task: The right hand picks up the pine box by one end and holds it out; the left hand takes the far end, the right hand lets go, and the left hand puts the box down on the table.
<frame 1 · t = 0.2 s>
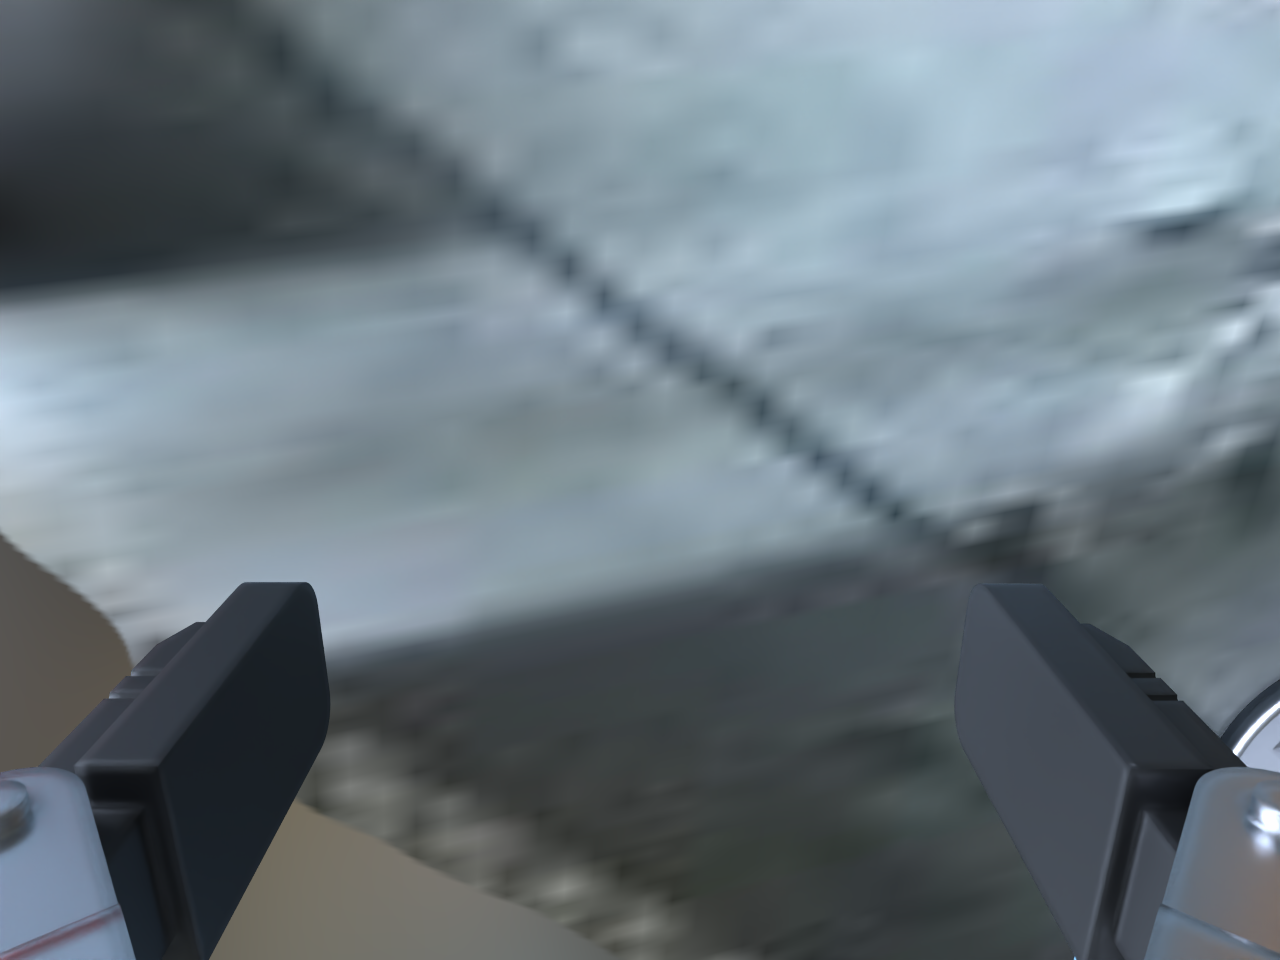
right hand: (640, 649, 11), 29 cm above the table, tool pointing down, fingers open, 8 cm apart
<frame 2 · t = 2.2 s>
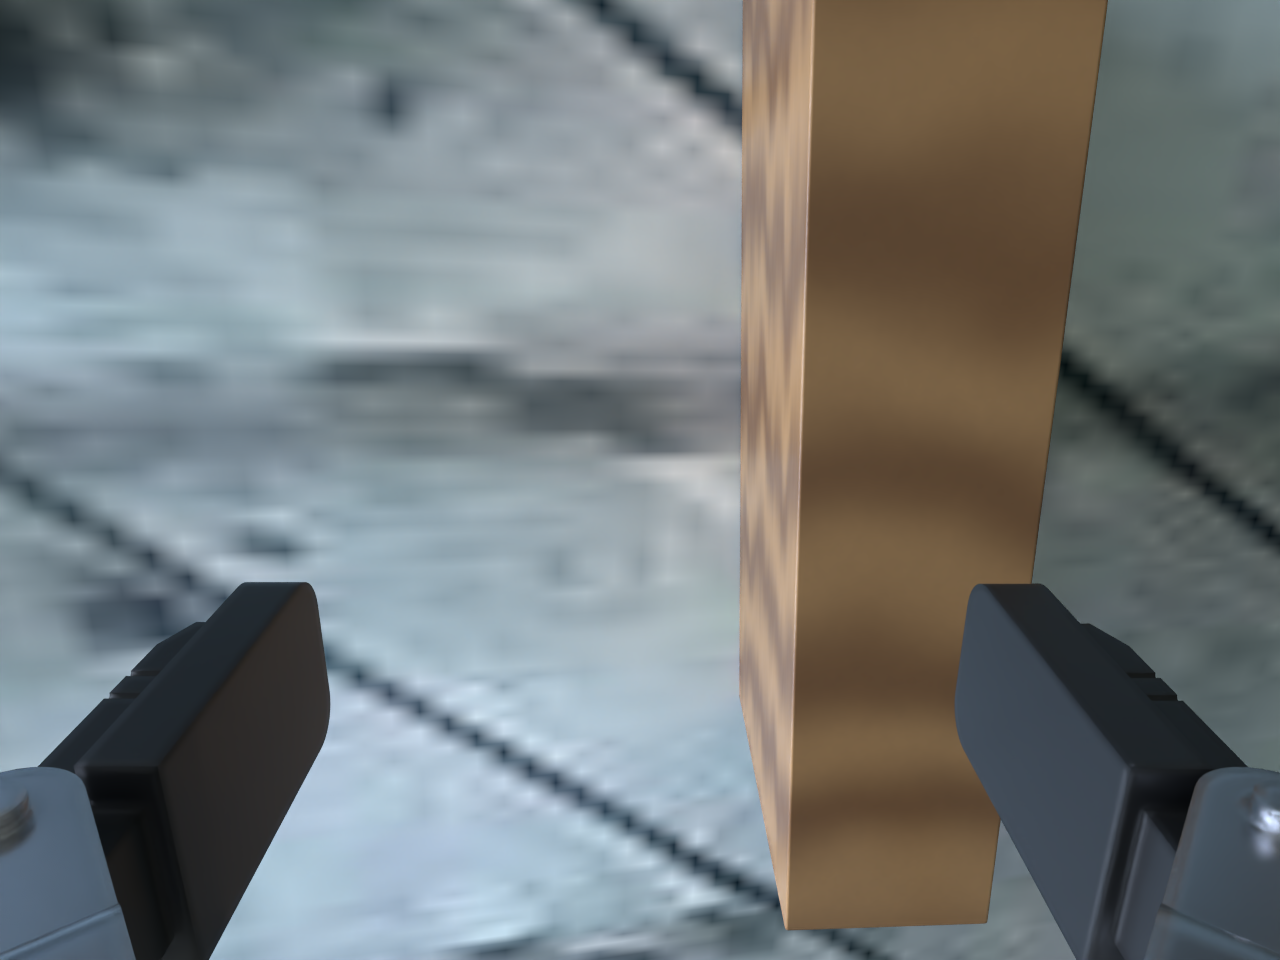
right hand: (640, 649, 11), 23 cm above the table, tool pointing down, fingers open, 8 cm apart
box: (822, 370, 33), on the table
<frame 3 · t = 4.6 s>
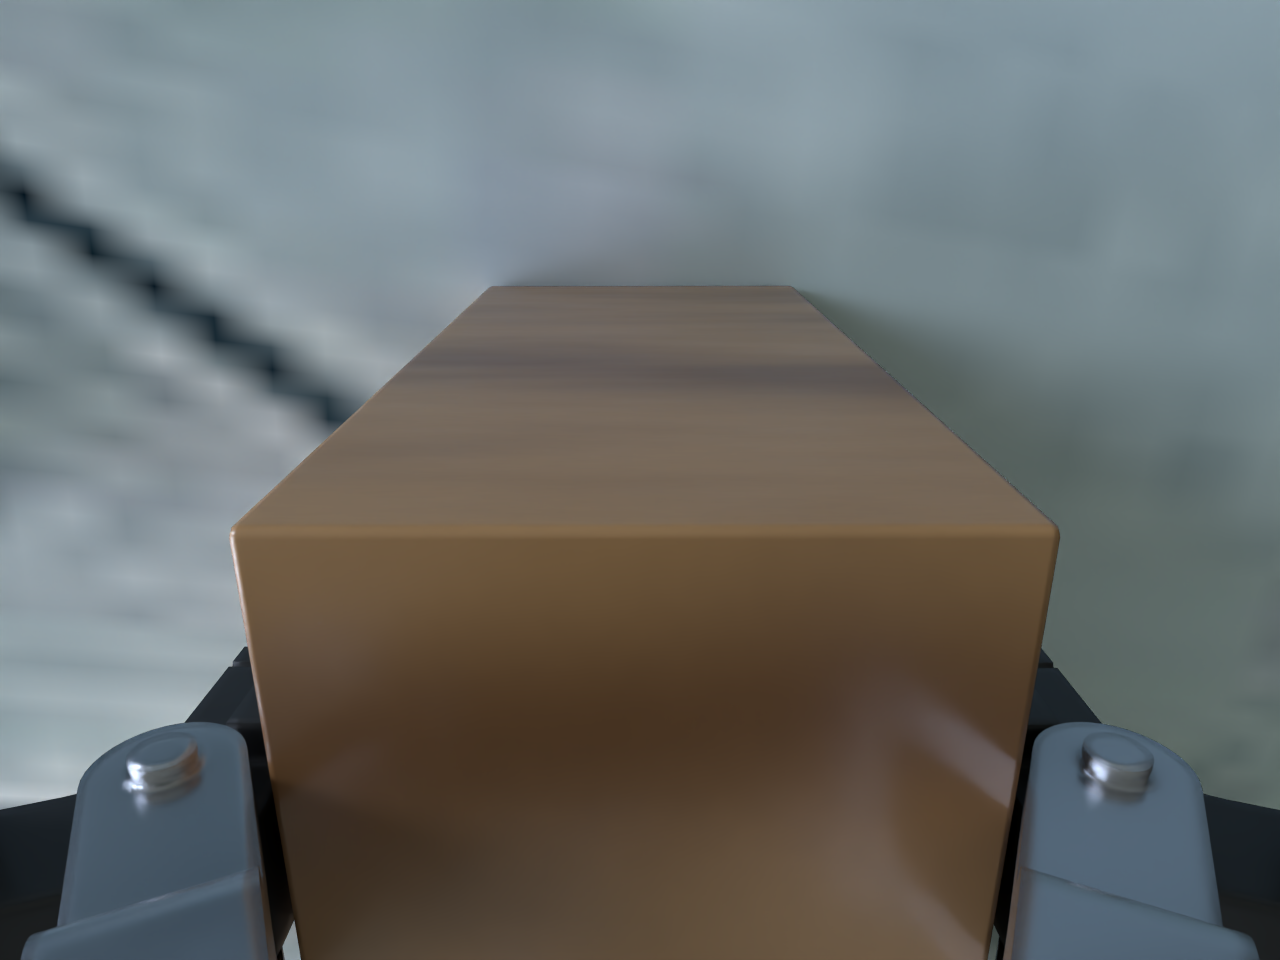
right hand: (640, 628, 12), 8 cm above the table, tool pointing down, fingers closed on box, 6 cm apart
box: (641, 851, 22), on the table, touching right hand
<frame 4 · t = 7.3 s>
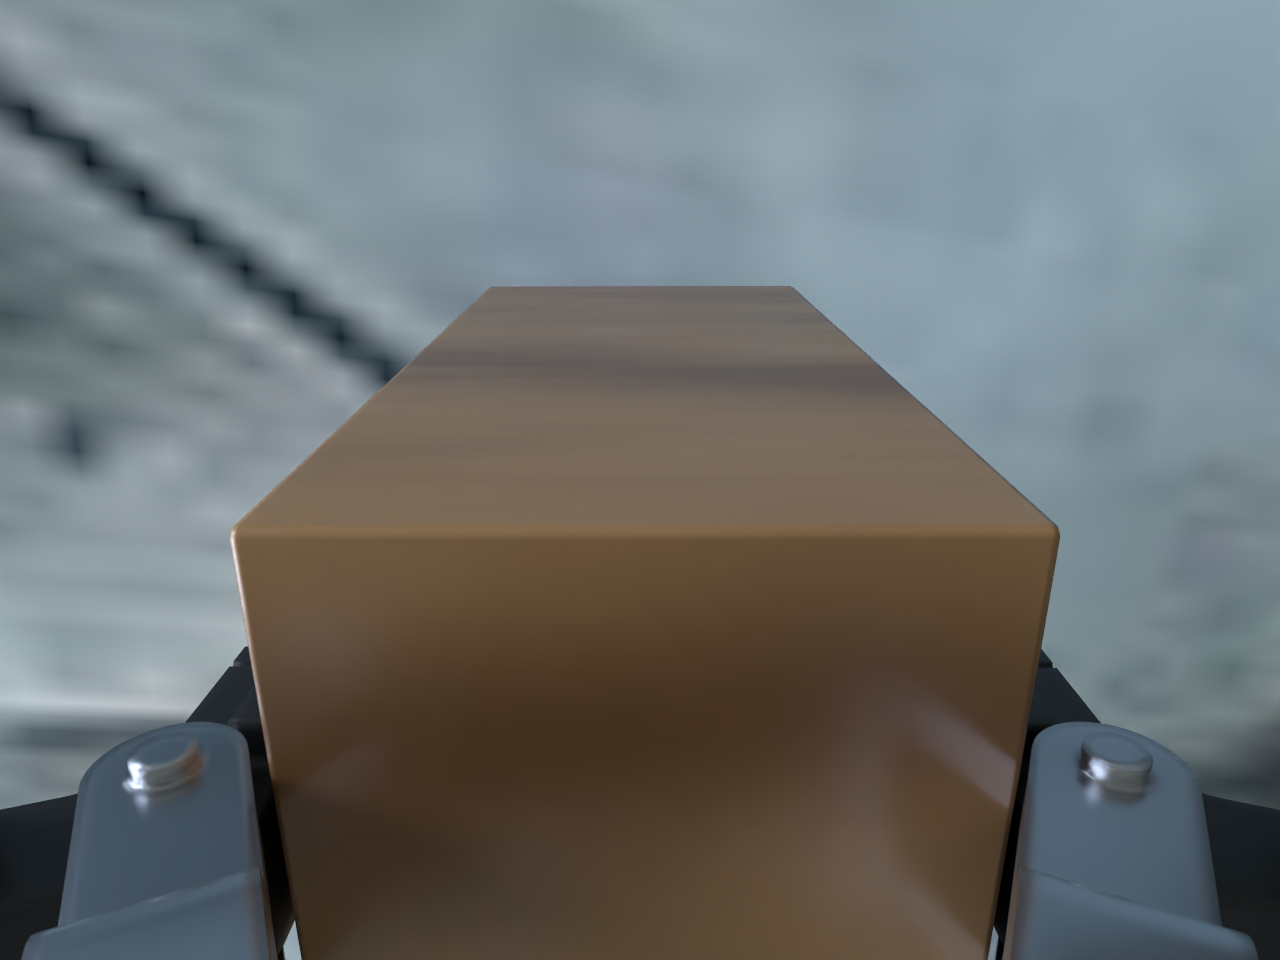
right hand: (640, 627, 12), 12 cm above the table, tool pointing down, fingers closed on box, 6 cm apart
box: (641, 851, 22), point 4 cm above the table, touching right hand
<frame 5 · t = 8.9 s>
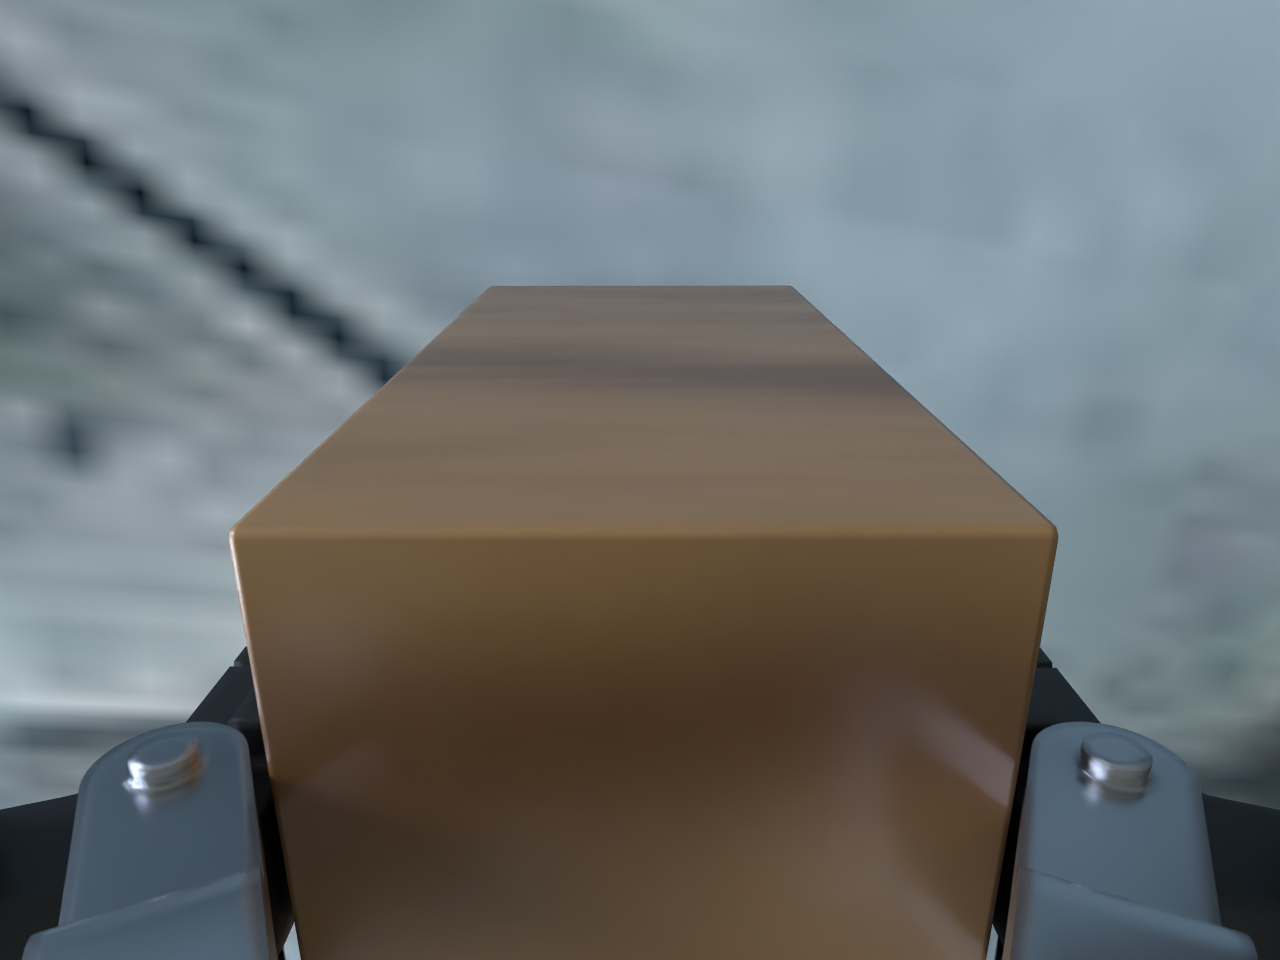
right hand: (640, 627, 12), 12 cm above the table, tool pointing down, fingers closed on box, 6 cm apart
box: (641, 850, 22), point 4 cm above the table, touching right hand, left hand
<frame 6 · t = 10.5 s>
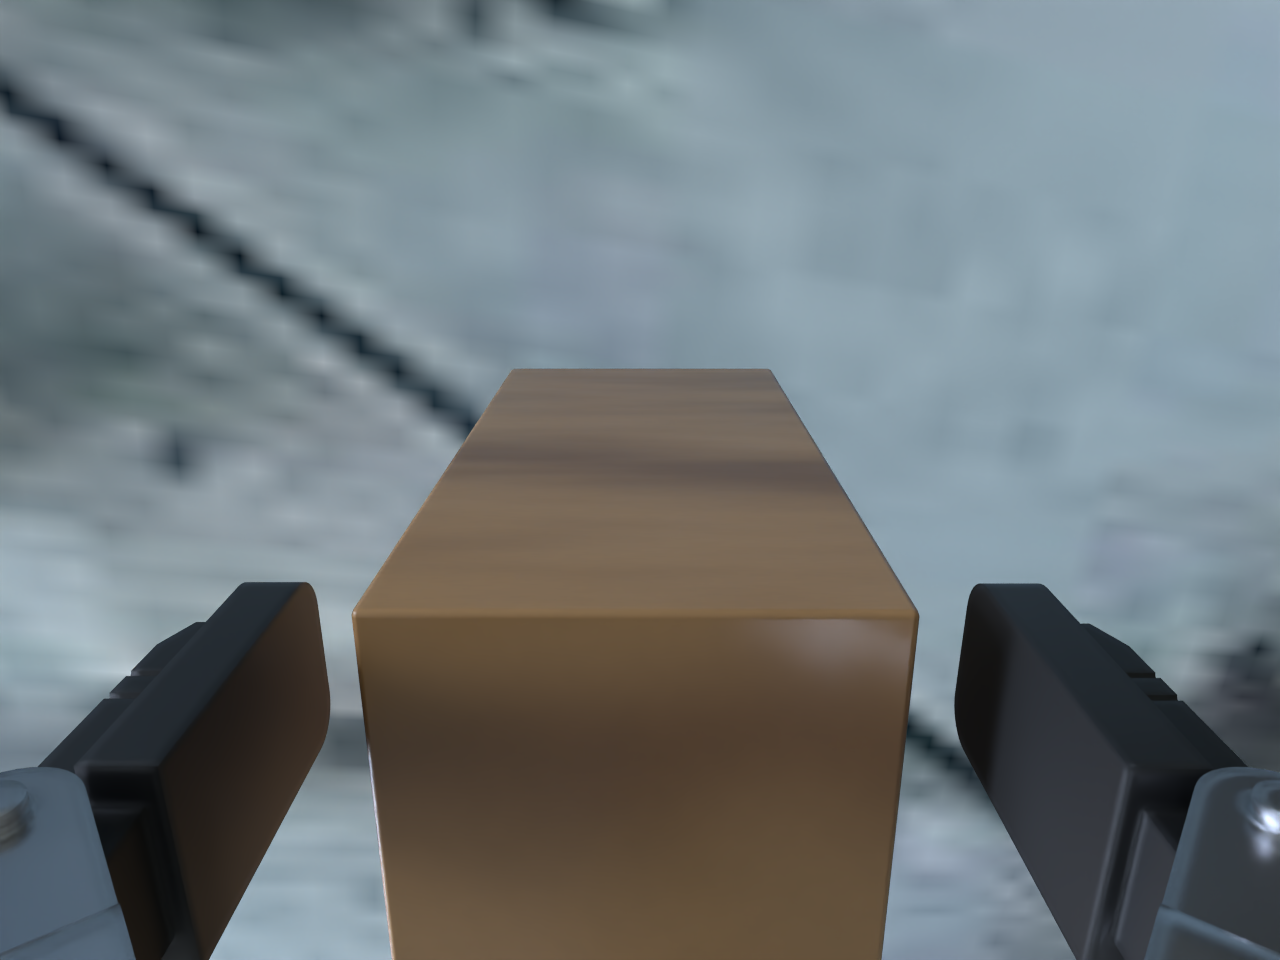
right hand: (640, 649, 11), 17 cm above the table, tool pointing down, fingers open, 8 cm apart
box: (641, 856, 25), point 6 cm above the table, touching left hand
when the left hand's fingers open (4 cm above the table, at t = 13.8 s): box drops 1 cm, on the table.
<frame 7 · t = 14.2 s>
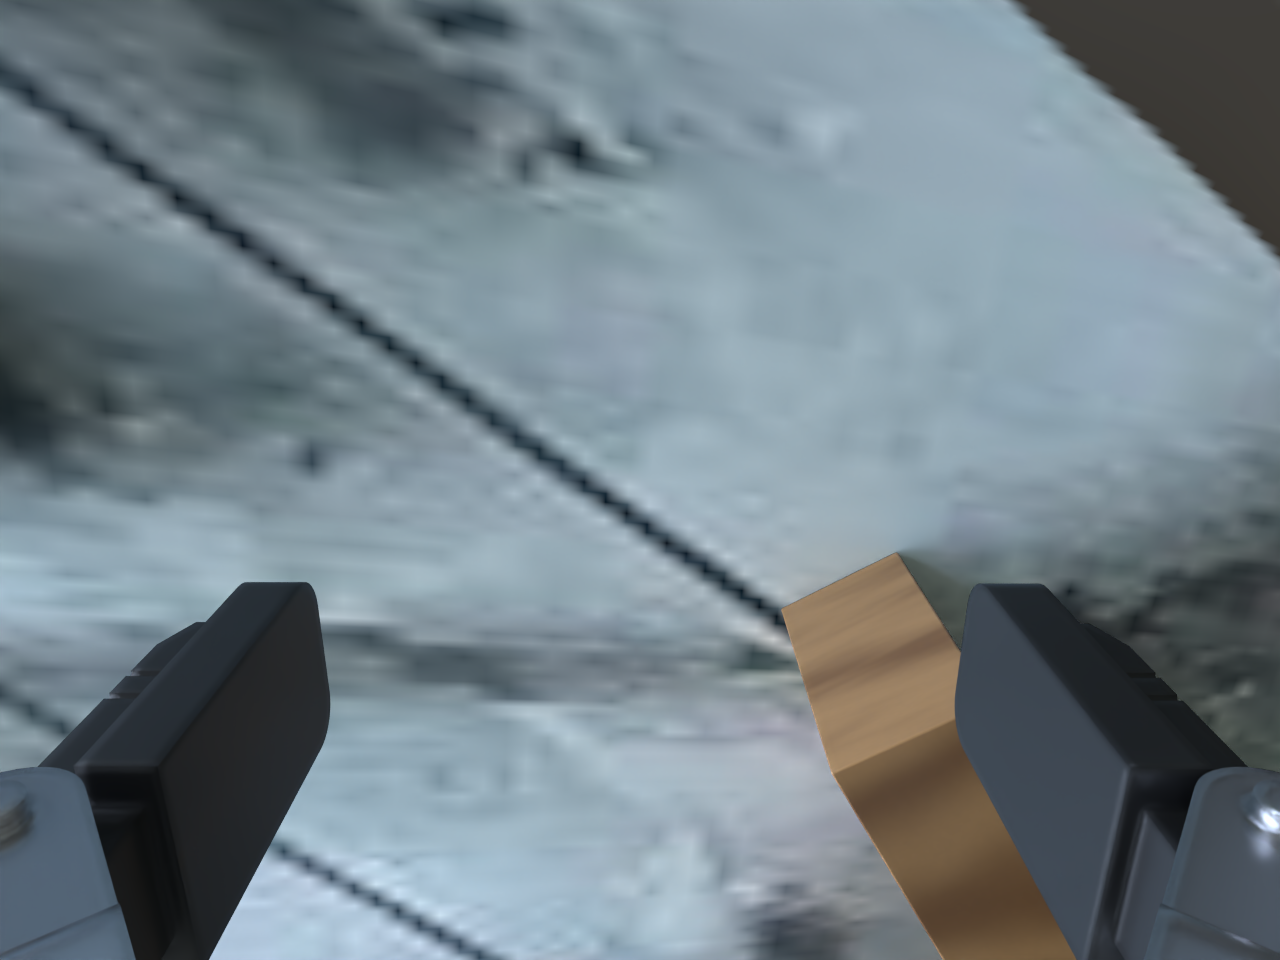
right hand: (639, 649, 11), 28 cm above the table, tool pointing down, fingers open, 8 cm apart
box: (954, 792, 46), on the table
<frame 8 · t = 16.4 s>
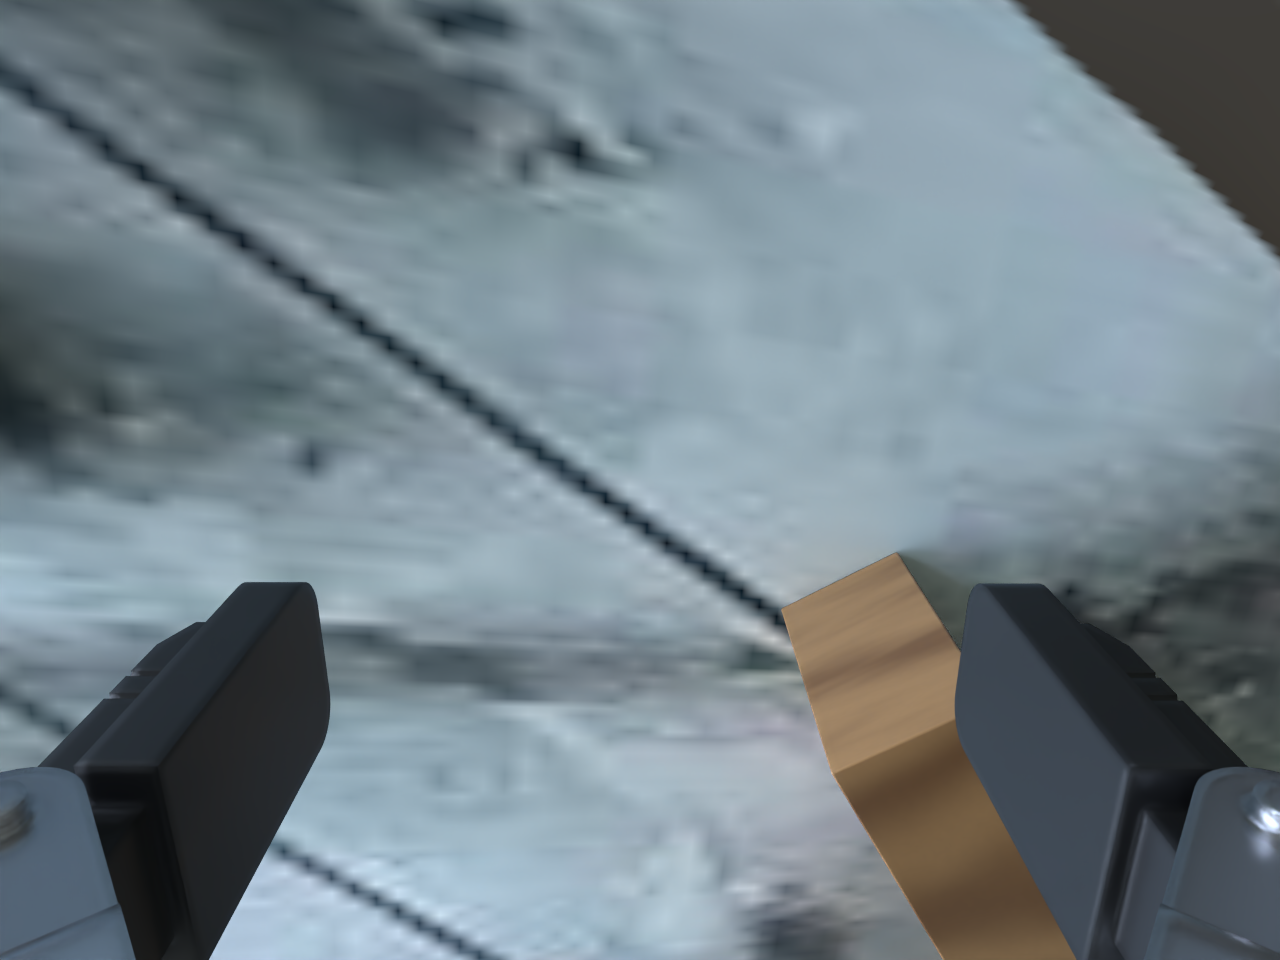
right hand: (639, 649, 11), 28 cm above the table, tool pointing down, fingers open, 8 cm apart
box: (954, 792, 46), on the table
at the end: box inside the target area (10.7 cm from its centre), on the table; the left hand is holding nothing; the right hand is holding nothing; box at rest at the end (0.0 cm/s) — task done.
